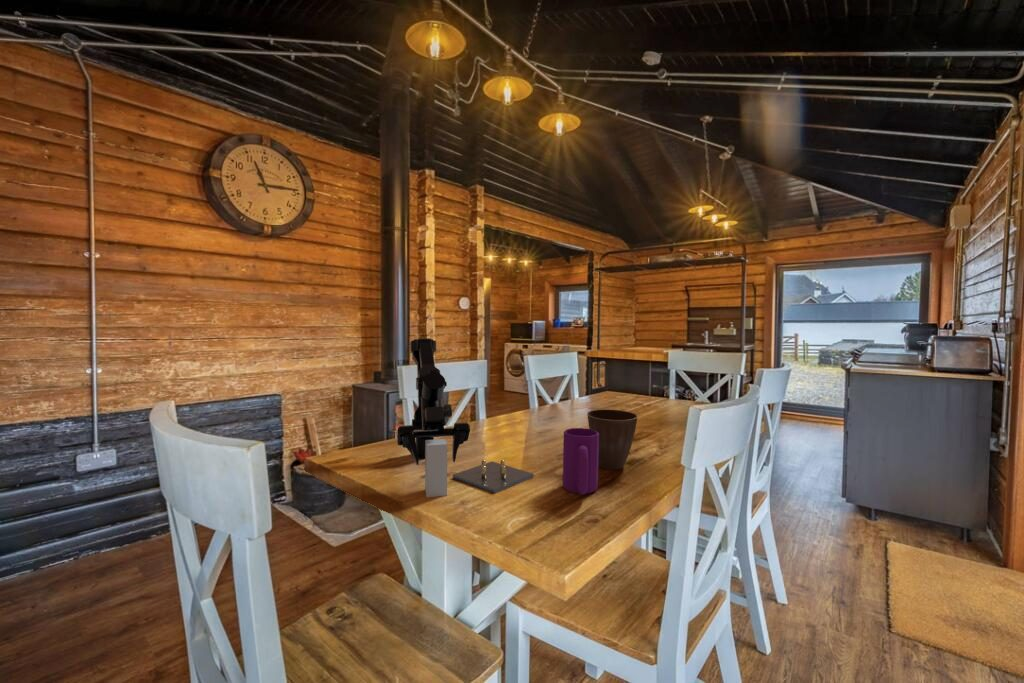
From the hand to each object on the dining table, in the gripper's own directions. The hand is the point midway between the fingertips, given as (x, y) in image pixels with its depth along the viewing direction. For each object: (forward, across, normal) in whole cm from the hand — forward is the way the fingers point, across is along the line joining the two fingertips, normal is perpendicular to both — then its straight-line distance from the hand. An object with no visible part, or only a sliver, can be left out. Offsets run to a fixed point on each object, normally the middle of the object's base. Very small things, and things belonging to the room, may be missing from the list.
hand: (436, 462), depth 110 cm
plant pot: (0, +54, +11) cm, 55 cm away
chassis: (0, +17, +10) cm, 20 cm away
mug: (+12, +36, -1) cm, 38 cm away
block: (+5, 0, +6) cm, 8 cm away
